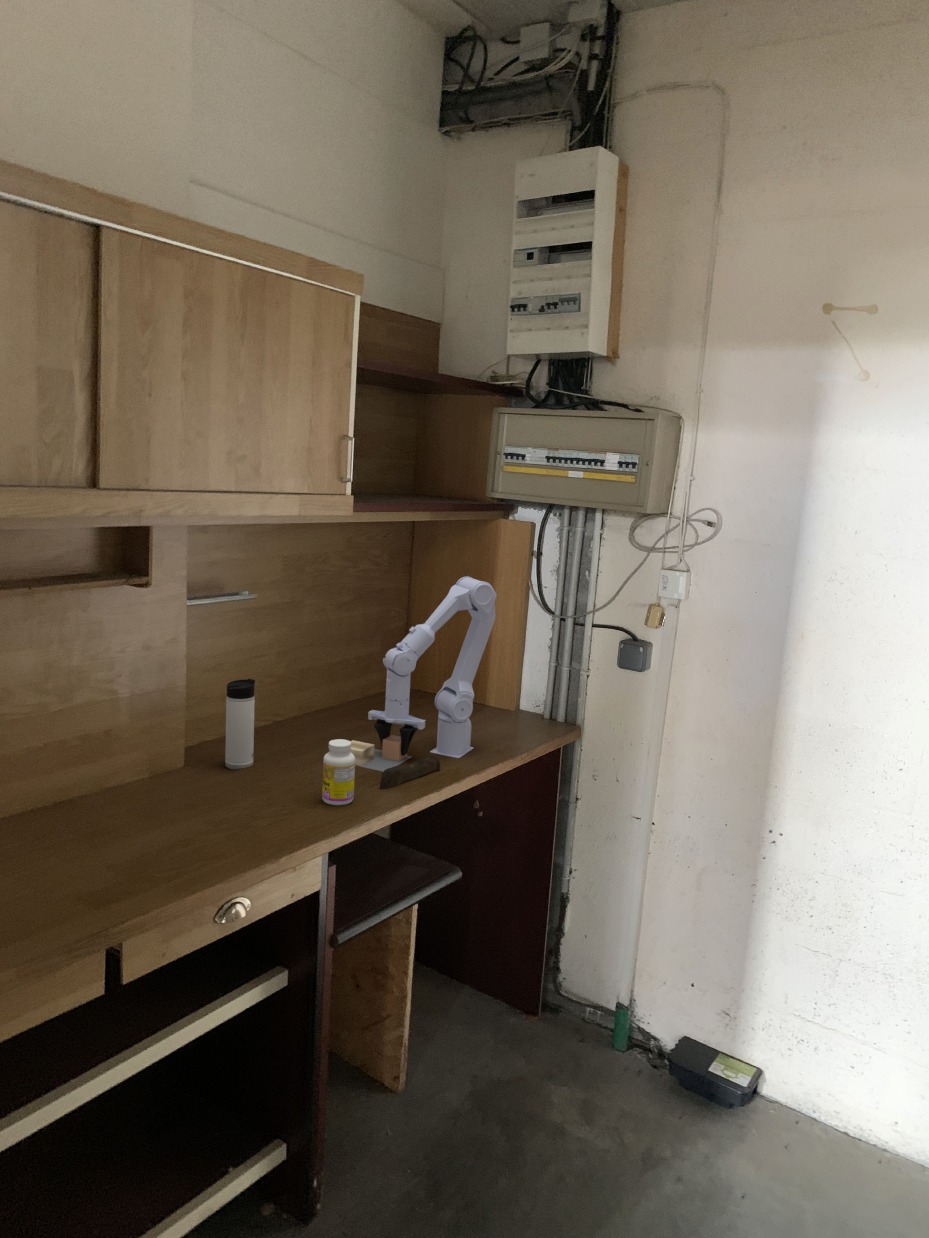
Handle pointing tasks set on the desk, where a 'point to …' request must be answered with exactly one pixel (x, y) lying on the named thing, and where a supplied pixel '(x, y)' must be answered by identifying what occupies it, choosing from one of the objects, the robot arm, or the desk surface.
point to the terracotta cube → (392, 748)
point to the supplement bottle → (338, 773)
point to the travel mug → (240, 724)
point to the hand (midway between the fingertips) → (394, 752)
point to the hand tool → (408, 772)
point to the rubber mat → (382, 762)
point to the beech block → (362, 752)
